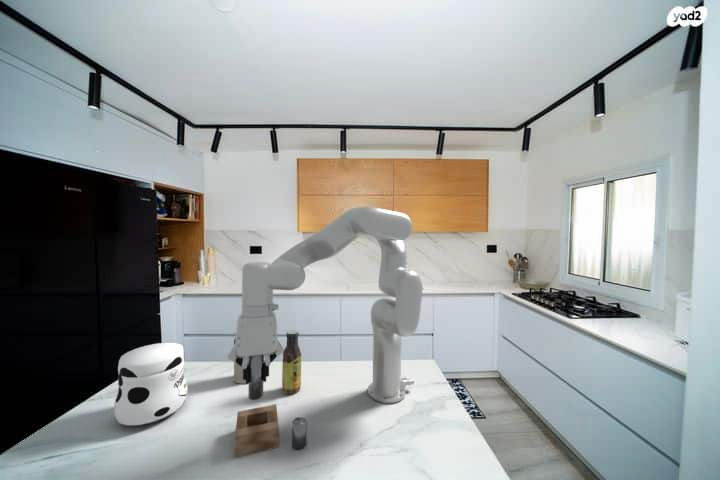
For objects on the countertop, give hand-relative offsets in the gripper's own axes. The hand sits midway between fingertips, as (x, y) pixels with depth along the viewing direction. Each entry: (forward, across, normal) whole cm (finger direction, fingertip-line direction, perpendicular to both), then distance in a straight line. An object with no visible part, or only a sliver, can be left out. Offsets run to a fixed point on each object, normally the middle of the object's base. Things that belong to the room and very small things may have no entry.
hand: (256, 379), depth 73 cm
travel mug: (+16, +3, -33) cm, 37 cm away
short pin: (+15, -11, +6) cm, 20 cm away
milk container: (+16, +28, -21) cm, 39 cm away
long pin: (+4, 0, 0) cm, 4 cm away
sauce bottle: (+15, -12, -20) cm, 28 cm away
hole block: (+15, -1, 0) cm, 15 cm away
